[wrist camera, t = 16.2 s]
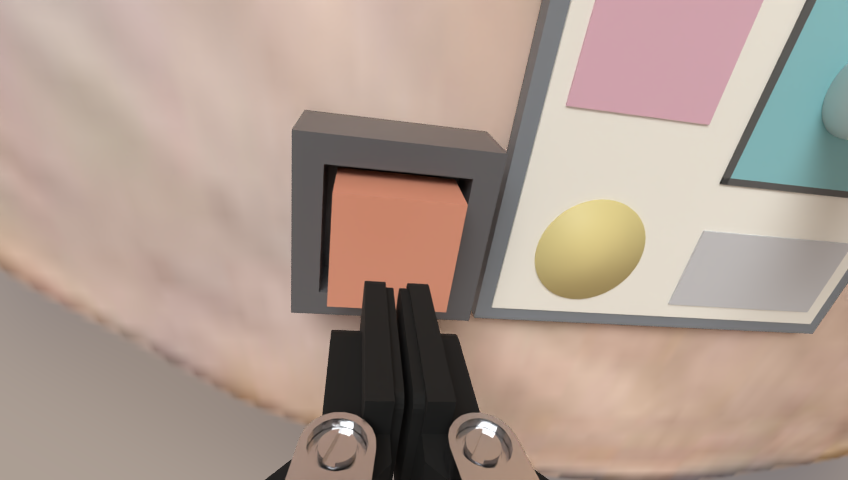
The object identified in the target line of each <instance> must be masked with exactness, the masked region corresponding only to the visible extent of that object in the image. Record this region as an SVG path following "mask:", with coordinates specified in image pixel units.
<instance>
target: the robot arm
mask: <svg viewBox="0 0 848 480" xmlns="http://www.w3.org/2000/svg"><path fill="white" fill-rule="evenodd" d="M393 472H394V480H548V479H547V478H546V477H544V476H543V475H541V474H540V473H538V472H537V471H536V470H534V469H533V467H532V465H531V463H530V461H529V459H528V457H527V455H526V453H525V451H524V450H523V448H522V446H521V444H520V442H519V440H518V438H517V436H516V435H515V434H514V432H513V431H512V429H511V428H510V427H509V426H508V425H506V424H505V423H504V422H503V421H502V420H500V419H498V418H496V417H494V416H492V415H488V414H485V413H480V411H479V408H478V404H477V401H476V397H475V394H474V391H473V387H472V384H471V380H470V377H469V373H468V370H467V366H466V363H465V359H464V356H463V353H462V349H461V346H460V342H459V339H458V337H457V335H456V334H440V330H439V326H438V322H437V318H436V313H435V309H434V305H433V301H432V297H431V292H430V288H429V285H428V284H416V283H407V286H406V288H399V291H398V298H397V306H396V307H395V298H394V289H393V288H389V287H386V282H379V281H365V282H364V291H363V302H362V313H361V324H360V331H346V330H332V331H331V339H330V348H329V358H328V367H327V377H326V386H325V395H324V405H323V414H322V416H320V417H318V418H316V419H315V420H313V421H312V422H311V423H310V424H308V425H307V426H306V427H305V428H304V430H303V432H302V434H301V436H300V437H299V440H298V443H297V446H296V449H295V452H294V455H293V458H292V460H290V461H289V462H287V463H286V464H285V465H284V466H282V467H281V468H280V469H278V470H277V471H276V472H275V473H273V474H272V475H271V476H269V477H268V478H267V479H266V480H392V478H393Z"/></svg>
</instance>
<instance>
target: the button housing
mask: <svg viewBox="0 0 848 480" xmlns="http://www.w3.org/2000/svg"><path fill="white" fill-rule="evenodd" d="M507 155H508V153H507V152H506V151H505V150H504V149H503V148H502V147H501V146H500V145H499V144H498V143H497V142H496V141H495V140H494V139H493V138H492V137H491V136H490V135H489V134H488V133H487V132H485V131H476V130H468V129H459V128H451V127H443V126H434V125H426V124H418V123H409V122H401V121H393V120H384V119H376V118H367V117H359V116H351V115H342V114H334V113H326V112H317V111H309V110H305V111H304V112H303V114H302V115H301V117H300V118H299V120H298V121H297V123H296V124H295V126H294V127H293V129H292V247H291V312H292V313H314V314H335V315H357V316H361V313H362V308H348V307H327V295H328V274H329V254H330V234H331V213H332V193H333V188H334V183H335V178H336V174H337V169H338V167H339V168H349V169H359V170H369V171H379V172H389V173H399V174H409V175H419V176H429V177H439V178H449V179H455V180H456V182H457V184H458V186H459V188H460V190H461V192H462V194H463V196H464V198H465V200H466V202H467V204H468V207H467V212H466V217H465V222H464V227H463V232H462V237H461V241H460V246H459V251H458V256H457V261H456V266H455V271H454V276H453V281H452V286H451V291H450V296H449V301H448V306H447V311H446V312H435V313H436V318H437V319H444V320H465V321H469V318H470V313H471V309H472V305H473V301H474V296H475V292H476V288H477V283H478V279H479V275H480V271H481V266H482V262H483V258H484V254H485V249H486V245H487V241H488V236H489V232H490V228H491V224H492V219H493V215H494V211H495V207H496V202H497V198H498V194H499V190H500V185H501V181H502V177H503V172H504V168H505V164H506V160H507Z"/></svg>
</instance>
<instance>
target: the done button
mask: <svg viewBox="0 0 848 480" xmlns="http://www.w3.org/2000/svg"><path fill="white" fill-rule="evenodd" d="M467 207H468V204H467V202H466V200H465V198H464V196H463V194H462V192H461V190H460V188H459V186H458V184H457V182H456V180H455V179H449V178H439V177H429V176H419V175H409V174H399V173H389V172H379V171H369V170H359V169H349V168H339V167H338V169H337V174H336V178H335V183H334V188H333V193H332V213H331V234H330V254H329V274H328V295H327V307H348V308H362V302H363V291H364V282H365V281H379V282H386V287H389V288H393V289H394V298H395V307H396V306H397V298H398V291H399V288H406V286H407V283H416V284H428V285H429V288H430V292H431V297H432V301H433V305H434V309H435V312H446V311H447V306H448V301H449V296H450V291H451V286H452V281H453V276H454V271H455V266H456V261H457V256H458V251H459V246H460V241H461V237H462V232H463V227H464V222H465V217H466V212H467Z"/></svg>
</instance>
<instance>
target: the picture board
mask: <svg viewBox="0 0 848 480" xmlns="http://www.w3.org/2000/svg"><path fill="white" fill-rule="evenodd" d="M846 64H848V0H542V3H541V7H540V11H539V16H538V20H537V24H536V29H535V33H534V37H533V41H532V46H531V50H530V54H529V59H528V63H527V67H526V72H525V76H524V80H523V84H522V89H521V93H520V97H519V102H518V106H517V110H516V115H515V119H514V123H513V127H512V132H511V136H510V140H509V145H508V149H507V153H508V155H507V160H506V164H505V168H504V172H503V177H502V181H501V185H500V190H499V194H498V198H497V202H496V207H495V211H494V215H493V219H492V224H491V228H490V232H489V236H488V241H487V245H486V249H485V254H484V258H483V262H482V266H481V271H480V275H479V279H478V283H477V288H476V292H475V296H474V301H473V305H472V309H471V310H472V313H473V316H474V318H492V319H513V320H534V321H555V322H576V323H597V324H618V325H639V326H660V327H681V328H702V329H723V330H744V331H765V332H787V333H808V334H813V332H814V331H815V329H816V328H817V327H818V325H819V324H820V322H821V321H822V319H823V318H824V316H825V315H826V314H827V312H828V311H829V309H830V308H831V306H832V305H833V304H834V302H835V301H836V299H837V298H838V296H839V295H840V293H841V292H842V291H843V289H844V288H845V286H846V285H847V283H848V140H845V139H841V138H838V137H835V136H833V135H832V134H830V133H829V132H828V131H827V129H826V128H825V126H824V123H823V119H822V107H823V102H824V99H825V96H826V93H827V91H828V89H829V87H830V85H831V83H832V82H833V80H834V79H835V77H836V76H837V75H838V73H839V72H840V71H841V70H842V69H843V68H844V66H845V65H846Z"/></svg>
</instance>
